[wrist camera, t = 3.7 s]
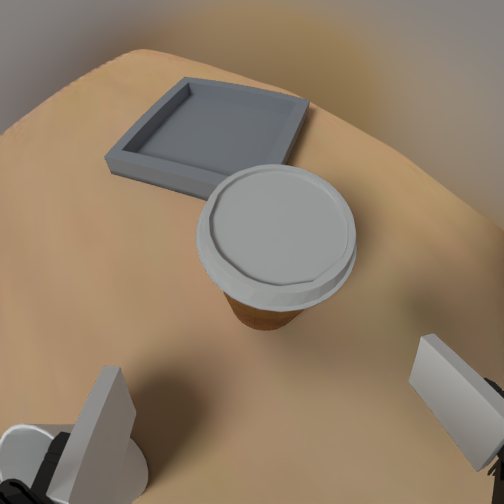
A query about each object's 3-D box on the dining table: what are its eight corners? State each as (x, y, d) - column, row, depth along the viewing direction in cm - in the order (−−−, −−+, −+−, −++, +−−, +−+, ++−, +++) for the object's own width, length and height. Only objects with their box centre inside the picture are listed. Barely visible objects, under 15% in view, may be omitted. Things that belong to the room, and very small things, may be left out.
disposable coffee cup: (217, 355, 24) (198, 314, 13) (208, 255, 28) (191, 165, 18) (326, 339, 25) (385, 287, 14) (304, 245, 29) (335, 156, 19)
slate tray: (306, 116, 40) (309, 100, 37) (262, 218, 31) (264, 199, 28) (186, 91, 43) (184, 76, 40) (111, 173, 34) (104, 156, 31)
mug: (104, 406, 21) (33, 399, 12) (168, 472, 19) (123, 509, 9) (37, 471, 16) (-35, 478, 7) (90, 532, 14) (32, 567, 5)
